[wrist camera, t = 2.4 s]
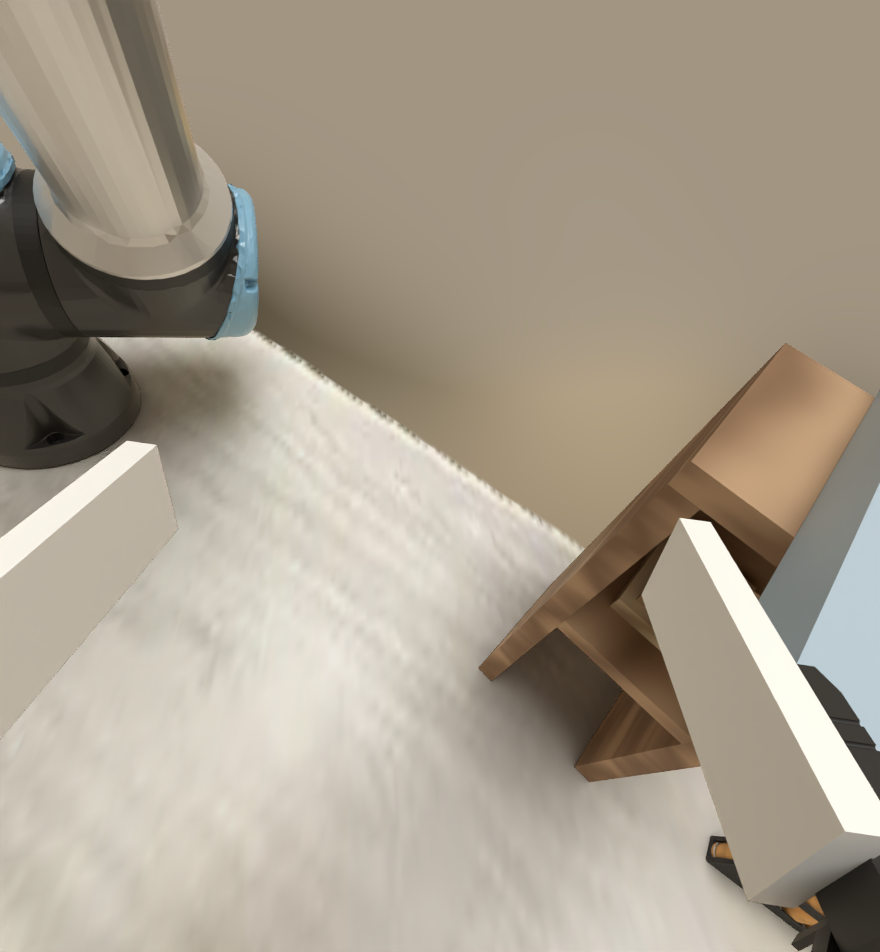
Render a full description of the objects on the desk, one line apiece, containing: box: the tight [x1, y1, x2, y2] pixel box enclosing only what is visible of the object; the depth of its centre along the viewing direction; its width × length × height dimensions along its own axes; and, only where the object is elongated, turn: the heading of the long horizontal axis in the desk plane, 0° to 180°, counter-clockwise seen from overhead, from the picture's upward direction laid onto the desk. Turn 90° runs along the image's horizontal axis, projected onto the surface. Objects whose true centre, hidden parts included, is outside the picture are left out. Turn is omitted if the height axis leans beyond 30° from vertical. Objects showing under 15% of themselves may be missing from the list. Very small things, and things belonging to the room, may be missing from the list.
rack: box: [479, 343, 875, 782], centre depth 30 cm, size 12×12×32 cm
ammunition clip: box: [706, 836, 825, 932], centre depth 31 cm, size 11×2×12 cm, turn 56°
